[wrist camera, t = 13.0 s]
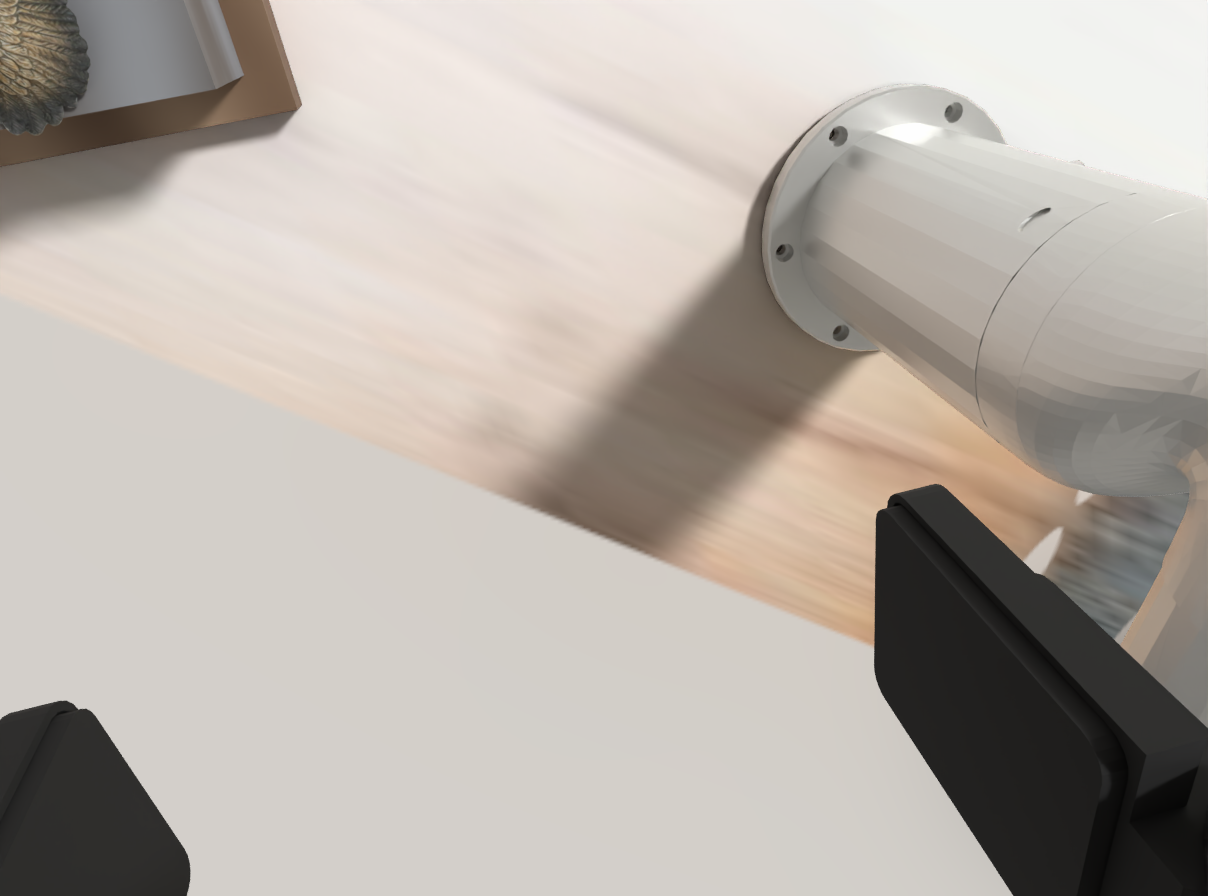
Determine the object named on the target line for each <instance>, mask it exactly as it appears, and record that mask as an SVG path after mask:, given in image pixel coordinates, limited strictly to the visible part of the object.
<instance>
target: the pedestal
mask: <svg viewBox="0 0 1208 896" xmlns="http://www.w3.org/2000/svg"><path fill="white" fill-rule="evenodd" d="M66 6H67V8H69V9H70V10H71V11H72V12H73V13H74V15H75V16H76V19H77V24H78V26H79V30H80V32H79V34H80V36H81V37H82V38H83V39H85V40H86V42H87V45H88V50H87V55H88V57H89V58H90V63H91V65H90V67H89V69H88V70H87V71H88V73H89V81H88V84H87V88H88V89H87V91H86V92H85V93H84V94H82V95H80V94H78V95H77V102H78V105H77V106H76V107H75V108H69V107H67V106H63V111H64V115H63V119H62V122H61V123H60V124H59V125H58V126H51V125H50V124H47V125H46V126H45V128H44V131H43V133H42V134H40V135H38V136H34V135H31V134H30V133H29V132H26V131H25V132H24V133H22V135H14V134H12V133H10V132H9V131H8V130H7V129H6V128H5V126H4V125H3V124H0V167H1V166H7V165H12V164H17V163H22V162H27V161H33V160H38V159H43V158H48V157H53V156H59V155H64V154H69V153H74V152H79V151H85V150H90V149H95V148H100V147H105V146H111V145H116V144H121V143H126V142H131V141H137V140H142V139H147V138H152V137H157V136H163V135H168V134H173V133H178V132H183V131H189V130H194V129H199V128H204V127H209V126H215V125H220V124H225V123H230V122H236V121H241V120H246V119H251V118H256V117H262V116H267V115H272V114H277V113H282V112H288V111H293V110H297V109H298V108H299V107H300V106H301V105H302V103H301V100H300V97H299V94H298V91H297V87H296V84H295V81H294V78H293V75H292V72H291V69H290V65H289V62H288V59H287V56H286V53H285V50H284V47H283V44H282V40H281V37H280V34H279V31H278V28H277V25H276V22H275V18H274V15H273V12H272V9H271V6H270V3H269V0H68V3H67V5H66Z"/></svg>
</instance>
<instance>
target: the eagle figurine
mask: <svg viewBox="0 0 1208 896" xmlns="http://www.w3.org/2000/svg"><path fill="white" fill-rule="evenodd" d="M67 3H68V0H0V124H3V125H4V126H5V128H6V129H7V130H8V131H9V132H10V133H12V134H14V135H22V133H24V132H25V131H26V132H29V133H30V134H31V135H34V136H38V135H40V134H42V133H43V131H44V128H45V126H46V125H47V124H50V125H51V126H58V125H59V124H60V123H61V122H62V119H63V115H64V111H63V106H67V107H69V108H75V107H76V106H77V105H78V102H77V95H78V94H80V95H82V94H84V93H85V92H86V91H87V89H88V88H87V84H88V81H89V73H88V71H87V70H88V69H89V67H90V65H91V63H90V58H89V57H88V55H87V50H88V45H87V42H86V40H85V39H83V38H82V37H81V36H80V34H79V32H80V30H79V26H78V24H77V19H76V16H75V15H74V13H73V12H72V11H71V10H70V9H69V8H67V6H66V5H67Z"/></svg>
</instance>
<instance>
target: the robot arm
mask: <svg viewBox="0 0 1208 896" xmlns="http://www.w3.org/2000/svg"><path fill="white" fill-rule="evenodd" d="M946 108H947V112H946V113H945V111H946ZM944 114H945V115H944ZM833 129H834V131H835V133H834V136H833V137H832V138H831V139H829V136H830V132H831V131H832V130H833ZM780 245H782V249H781V250H780V251H779V252H777V253H776V250H777V249H778V247H779V246H780ZM762 258H763V263H764V268H765V272H766V277H767V281H768V283H769V285H770V288H771V290H772V292H773V294H774V297H775V299H776V301H777V302H778V303H779V305H780V306H781V308H782V309H783V310H784V312H785V313H786V314H787V316H788V317H789V318H790V319H791V320H793V321H794V322H795V323H796V324H797V325H798V326H799V327H800V328H801V329H802V330H803V331H805V332H806V333H808V334H809V335H811V336H812V337H814V338H815V339H817V340H818V341H820V342H823V343H825V344H828V345H830V346H832V347H836V348H840V349H847V350H853V351H876V350H881V351H883V352H884V353H885V354H887V355H888V356H889V357H890V358H892V359H893V360H894V361H895V362H897V363H898V364H899V365H901V366H902V367H903V368H904V369H906V370H907V371H908V372H909V373H911V374H912V375H913V376H914V377H916V378H917V379H918V380H920V381H921V382H922V383H923V384H925V385H926V386H927V387H928V388H930V389H931V390H932V391H934V392H935V393H936V394H937V395H939V396H940V397H941V398H942V399H944V400H945V401H946V402H947V403H949V404H950V405H951V406H953V407H954V408H955V409H956V410H958V411H959V412H960V413H961V414H963V415H964V416H965V417H967V418H968V419H969V420H970V421H972V422H973V423H974V424H975V425H977V426H978V427H979V428H980V429H982V430H983V431H984V432H986V433H987V434H988V435H989V436H991V437H992V438H993V439H994V440H996V441H997V442H998V443H1000V444H1001V445H1002V446H1003V447H1005V448H1006V449H1007V450H1008V451H1010V452H1011V453H1012V454H1014V455H1015V456H1016V457H1017V458H1019V459H1020V460H1021V461H1023V462H1024V463H1025V464H1026V465H1028V466H1029V467H1031V468H1032V469H1034V470H1036V471H1037V472H1039V473H1040V474H1042V475H1044V476H1045V477H1047V478H1049V479H1051V480H1053V481H1055V482H1058V483H1060V484H1062V485H1065V486H1067V487H1070V488H1074V489H1077V490H1081V491H1085V492H1089V493H1093V494H1099V495H1106V496H1129V497H1146V496H1158V495H1170V494H1179V493H1187V492H1189V501H1188V505H1187V509H1186V512H1185V515H1184V517H1183V519H1182V522H1181V524H1180V526H1179V528H1178V530H1177V533H1176V535H1175V537H1174V539H1173V541H1172V543H1171V545H1170V547H1169V549H1168V551H1167V553H1166V555H1165V556H1164V559H1163V564H1162V569H1161V571H1160V572H1159V574H1158V576H1157V578H1156V580H1155V582H1154V584H1153V586H1152V587H1151V589H1150V591H1149V593H1148V595H1147V597H1146V599H1145V600H1144V602H1143V604H1142V606H1141V608H1140V610H1139V612H1138V614H1137V615H1136V617H1135V619H1134V621H1133V623H1132V625H1131V627H1130V629H1129V630H1128V632H1127V634H1126V636H1125V638H1124V640H1123V642H1122V644H1121V645H1119V644H1118V643H1117V642H1116V641H1115V640H1114V639H1113V638H1112V637H1110V636H1109V635H1108V634H1107V633H1106V632H1105V631H1104V630H1103V629H1102V628H1101V627H1100V626H1099V625H1098V624H1097V623H1096V622H1095V621H1093V620H1092V619H1091V618H1090V617H1089V616H1088V615H1087V614H1086V613H1085V612H1084V611H1083V610H1082V609H1081V608H1080V607H1079V606H1078V605H1076V604H1075V603H1074V602H1073V601H1072V600H1071V599H1070V598H1069V597H1068V596H1067V595H1066V594H1065V593H1064V592H1063V591H1062V590H1061V589H1059V588H1058V587H1057V586H1056V585H1055V584H1054V583H1053V582H1051V581H1050V580H1049V579H1047V578H1046V577H1045V576H1043V575H1040V574H1037V573H1034V572H1033V571H1032V570H1031V569H1030V568H1029V567H1028V566H1027V565H1026V564H1025V563H1024V562H1023V561H1022V560H1021V559H1020V558H1018V557H1017V556H1016V555H1015V554H1014V553H1013V552H1012V551H1011V550H1010V549H1009V548H1008V547H1007V546H1006V545H1005V544H1004V543H1003V542H1002V541H1001V540H1000V539H999V538H998V537H996V536H995V535H994V534H993V533H992V532H991V531H990V530H989V529H988V528H987V527H986V526H985V525H984V524H983V523H982V522H981V521H980V520H979V519H978V518H977V517H975V516H974V515H973V514H972V513H971V512H970V511H969V510H968V509H967V508H966V507H965V506H964V505H963V504H962V503H961V502H960V501H959V500H958V499H957V498H956V497H955V496H953V495H952V494H951V493H950V492H949V491H948V490H947V489H946V488H945V487H943V486H942V485H939V484H933V485H929V486H925V487H921V488H917V489H913V490H909V491H905V492H901V493H897V494H894V495H892V496H890V498H889V500H888V505H887V508H886V509H882V510H880V511H878V513H877V516H876V558H875V644H874V652H875V653H874V668H875V675H876V680H877V682H878V686H879V688H880V690H881V693H882V695H883V696H884V698H885V700H886V701H887V703H888V704H889V706H890V707H891V709H892V710H893V712H894V713H895V715H896V716H897V718H898V720H899V721H900V723H901V724H902V726H903V727H904V729H905V730H906V732H907V733H908V735H909V736H910V738H911V739H912V741H913V742H914V744H915V746H916V747H917V749H918V750H919V752H920V753H921V755H922V756H923V758H924V759H925V761H926V763H927V764H928V766H929V767H930V769H931V770H932V772H933V773H934V775H935V776H936V778H937V779H938V781H939V782H940V784H941V785H942V787H943V788H944V790H945V792H946V793H947V795H948V796H949V798H950V799H951V801H952V802H953V804H954V805H955V807H956V808H957V810H958V812H959V813H960V815H961V816H962V818H963V819H964V821H965V822H966V824H967V825H968V827H969V828H970V830H971V831H972V833H973V835H974V836H975V837H976V839H977V841H978V842H979V844H980V845H981V847H982V848H983V850H984V851H985V853H986V854H987V856H988V858H989V859H990V861H991V862H992V864H993V865H994V867H995V868H996V870H997V871H998V873H999V874H1000V876H1001V877H1002V879H1003V880H1004V882H1005V884H1006V885H1007V887H1008V888H1009V890H1010V891H1011V893H1012V894H1013V896H1208V199H1207V198H1203V197H1200V196H1196V195H1192V194H1188V193H1184V192H1180V191H1176V190H1172V189H1168V188H1165V187H1161V186H1157V185H1154V184H1150V183H1146V182H1142V181H1139V180H1135V179H1131V178H1128V177H1124V176H1120V175H1116V174H1113V173H1109V172H1105V171H1101V170H1098V169H1094V168H1090V167H1087V166H1085V165H1084V164H1083V163H1082V162H1081V161H1079V160H1078V161H1071V162H1068V161H1064V160H1061V159H1057V158H1053V157H1049V156H1046V155H1042V154H1038V153H1035V152H1031V151H1027V150H1023V149H1020V148H1016V147H1012V146H1008V144H1007V142H1006V140H1005V138H1004V136H1003V134H1002V132H1001V130H1000V128H999V127H998V125H997V124H996V123H995V122H994V121H993V119H992V118H991V117H990V116H989V115H988V113H987V112H986V111H985V110H984V109H983V108H981V107H980V106H978V105H977V104H976V103H974V102H973V101H972V100H970V99H969V98H967V97H966V96H963V95H960V94H958V93H955V92H953V91H950V90H948V89H945V88H940V87H935V86H930V85H925V84H897V85H892V86H887V87H882V88H878V89H874V90H871V91H869V92H867V93H864V94H862V95H859V96H857V97H855V98H852V99H850V100H848V101H847V102H845V103H844V104H842V105H841V106H839V107H838V108H836V109H835V110H833V111H832V112H830V113H829V114H827V115H826V116H825V117H824V118H823V119H822V120H821V121H819V122H818V123H817V124H816V125H815V126H814V127H813V128H812V129H811V130H810V131H809V132H808V133H807V134H806V135H805V136H804V137H803V139H802V140H801V141H800V142H799V144H798V145H797V146H796V148H795V149H794V150H793V151H792V153H791V154H790V155H789V157H788V158H787V160H786V162H785V164H784V166H783V168H782V170H781V171H780V173H779V175H778V177H777V179H776V181H775V183H774V186H773V189H772V192H771V195H770V197H769V200H768V203H767V206H766V211H765V217H764V223H763V229H762ZM836 327H837V328H836ZM835 328H836V329H835ZM189 882H190V863H189V859H188V855H187V853H186V851H185V849H184V848H183V846H182V845H181V843H180V842H179V840H178V839H177V837H176V836H175V834H174V833H173V831H172V830H171V828H170V827H169V825H168V824H167V823H166V821H165V819H164V818H163V816H162V815H161V813H160V812H159V810H158V809H157V807H156V806H155V804H154V803H153V802H152V800H151V799H150V797H149V795H148V794H147V792H146V791H145V789H144V788H143V787H142V785H141V784H140V782H139V781H138V779H137V778H136V776H135V775H134V773H133V772H132V770H131V769H130V767H129V766H128V764H127V763H126V761H125V760H124V758H123V757H122V755H121V754H120V752H119V751H118V749H117V748H116V746H115V745H114V743H113V742H112V740H111V739H110V737H109V736H108V734H107V733H106V731H105V730H104V728H103V727H102V725H101V724H100V722H99V721H98V719H97V718H96V716H95V715H94V714H93V713H92V712H91V711H89V710H87V709H80V710H78V709H77V708H76V707H75V705H74V704H72V703H70V702H68V701H58V702H53V703H49V704H45V705H41V706H37V707H33V708H29V709H25V710H21V711H18V712H13V713H9V714H8V715H6V716H4V717H2V719H1V720H0V896H187V892H188V888H189Z"/></svg>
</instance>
